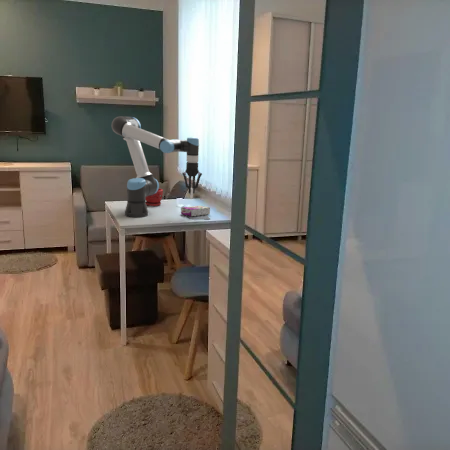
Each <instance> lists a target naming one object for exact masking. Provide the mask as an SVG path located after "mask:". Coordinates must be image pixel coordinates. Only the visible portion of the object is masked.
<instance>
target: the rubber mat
mask: <svg viewBox="0 0 450 450" xmlns="http://www.w3.org/2000/svg"><path fill="white" fill-rule="evenodd" d="M188 218H189V220H190V219H204V220H211V218H210V217H209V214H208V215H200V216H192V217H191V216H189V217H188Z"/></svg>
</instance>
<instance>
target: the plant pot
mask: <svg viewBox="0 0 450 450" xmlns="http://www.w3.org/2000/svg"><path fill="white" fill-rule="evenodd" d="M163 194H164V189H162V188H159V189H158V191H157V192H156V193H155V194H153V195H151V196H147V197H146V206H149V207H157V206H161V204H162V199H163Z"/></svg>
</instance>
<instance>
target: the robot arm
mask: <svg viewBox="0 0 450 450" xmlns="http://www.w3.org/2000/svg"><path fill="white" fill-rule="evenodd" d="M111 129H112V131H113V132H114V133H115V134H116V135H119V136H121V137H122V139H123V140H124V141H126V144H127V147H128V148H127V149H128V151H129V155H130V157H131V160H132V163H133V166H134V170H135V173H136V177H133V178H130V179H128V180H127V183H126V198H127V200H126V201H127V203H126V206H125V209H124V216H126V217H129V216H130V218H142V217H143V218H144V217H147V216H149V209H148V207H147V206H148V205H146V197H147V196H151V195H153V194H155V193H156V192H157V191H158V189H160V183H159V181H158V180H157V179H156V178H155V177H154V174H153V173H151V172H150V170H149V166H148V163H147V159H146V156H145V153H144V150H143V147H142V144H141V143H143V144H145V145H148V146H151V147H154V148H156V149H158V150H160V151H161V152H162V153H164V154H170V153H180V152H181V153H186V167H185V171H183V172H182V173H181V174H182V176H183V181H184V183H185V187H186V189H188V194H189V198H190V200H193V198H194V194H195V192H196V189H197V188H199V187H198V186H199V184H200V181H201V180H200V179H201V177H202V175H203V173H202V172H200V170H199V151H200V140H199V139H200V138H198V137H193V136H191V137H190V136H188V137H187V138H186V140H185V139H177V138H175V139H168V138H165V137H163V136H160V135H158V134H156V133H153V132H151V131H147V130H145V129H142V127H141V122H140V121H139V120H138V118H136V117H133V116H122V115H121V116H120V115H119V116H116V117H115V118H113V120H112V122H111ZM187 176H188V180H187ZM196 176H197V177H196ZM196 178H197V179H196Z"/></svg>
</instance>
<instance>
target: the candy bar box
mask: <svg viewBox="0 0 450 450" xmlns="http://www.w3.org/2000/svg"><path fill="white" fill-rule="evenodd" d="M210 211H211V207H209V206H205V205H204V206H203V205H195V206H194V205H193V206H182V207H180V215H182V216H187V217H188V216H191V217H192V216H200V215H208V216H209V215H211V212H210Z"/></svg>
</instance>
